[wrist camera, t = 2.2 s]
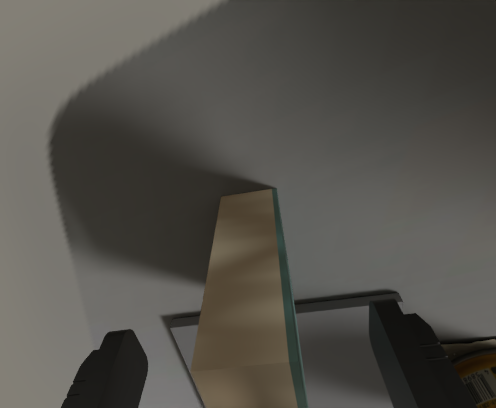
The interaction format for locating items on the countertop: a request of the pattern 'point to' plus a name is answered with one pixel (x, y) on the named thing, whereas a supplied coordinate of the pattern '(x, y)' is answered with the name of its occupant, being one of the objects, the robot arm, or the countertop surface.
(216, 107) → the countertop surface
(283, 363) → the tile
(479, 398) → the condiment
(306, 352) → the mat
